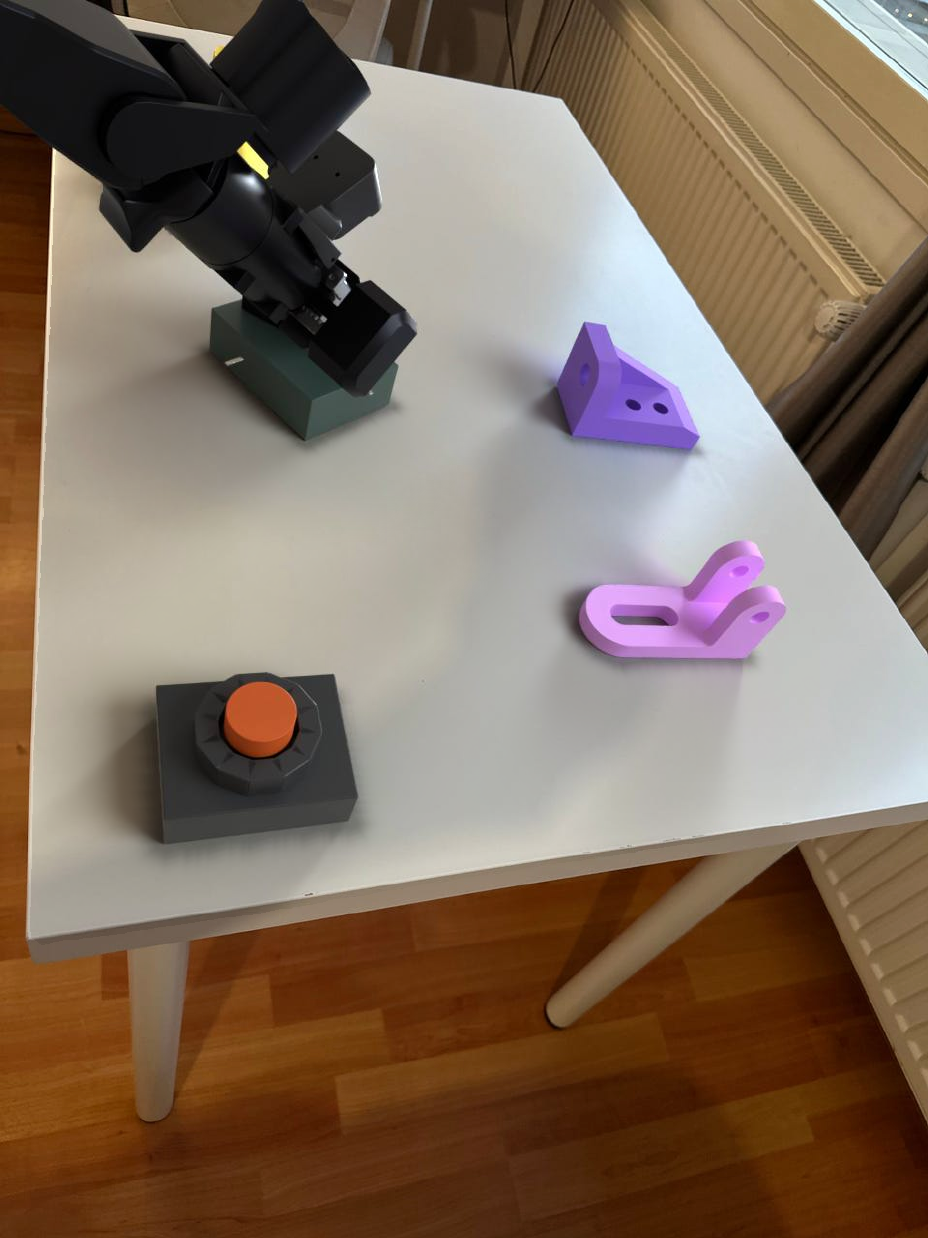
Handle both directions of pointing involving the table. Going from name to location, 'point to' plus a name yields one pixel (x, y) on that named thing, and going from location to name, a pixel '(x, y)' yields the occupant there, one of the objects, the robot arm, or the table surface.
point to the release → (250, 762)
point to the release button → (259, 719)
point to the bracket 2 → (689, 611)
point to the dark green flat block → (288, 373)
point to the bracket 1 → (621, 396)
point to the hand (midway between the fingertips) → (343, 328)
